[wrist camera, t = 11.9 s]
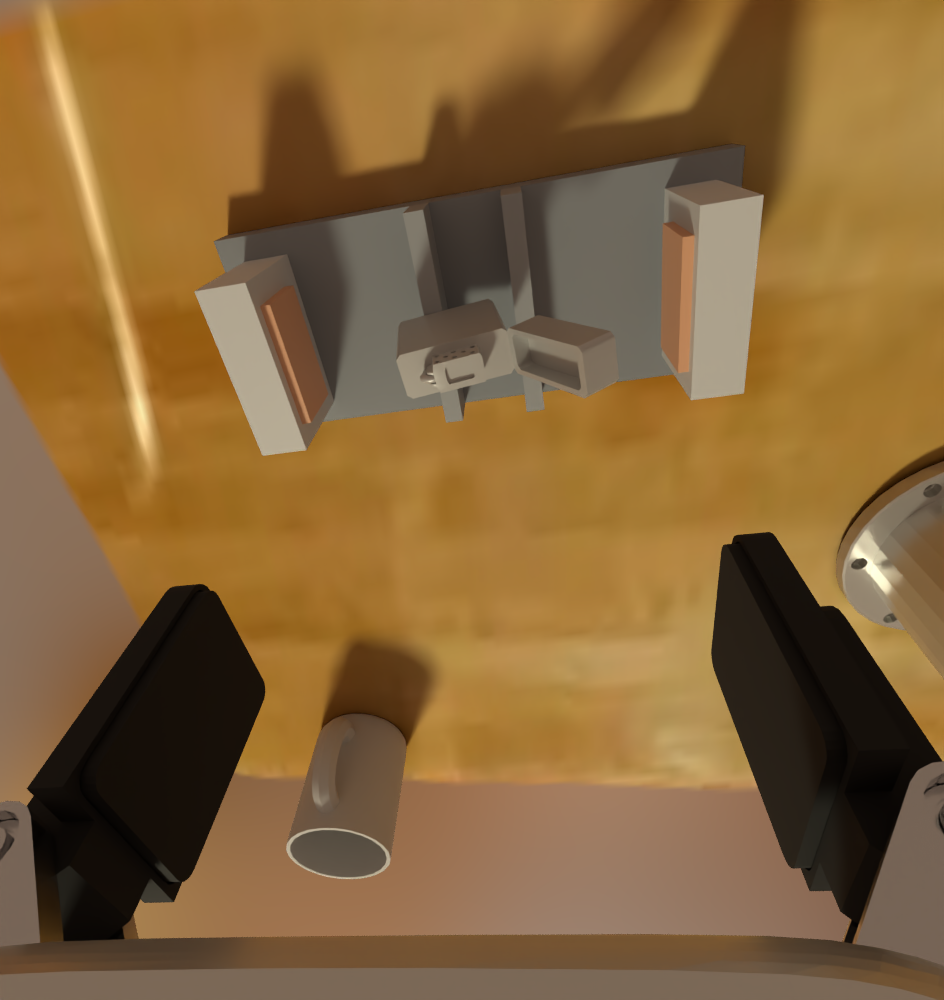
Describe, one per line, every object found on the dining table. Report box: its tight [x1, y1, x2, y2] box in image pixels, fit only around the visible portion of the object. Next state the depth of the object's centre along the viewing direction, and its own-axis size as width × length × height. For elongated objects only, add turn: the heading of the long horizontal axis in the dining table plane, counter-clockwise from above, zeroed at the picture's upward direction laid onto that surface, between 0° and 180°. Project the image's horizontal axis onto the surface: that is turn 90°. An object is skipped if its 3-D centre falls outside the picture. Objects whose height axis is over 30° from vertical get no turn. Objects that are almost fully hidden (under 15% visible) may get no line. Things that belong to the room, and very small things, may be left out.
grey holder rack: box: [194, 144, 764, 456], centre depth 25 cm, size 22×9×6 cm, turn 99°
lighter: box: [396, 299, 619, 399], centre depth 21 cm, size 7×2×8 cm, turn 103°
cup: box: [286, 714, 406, 879], centre depth 43 cm, size 7×10×9 cm
